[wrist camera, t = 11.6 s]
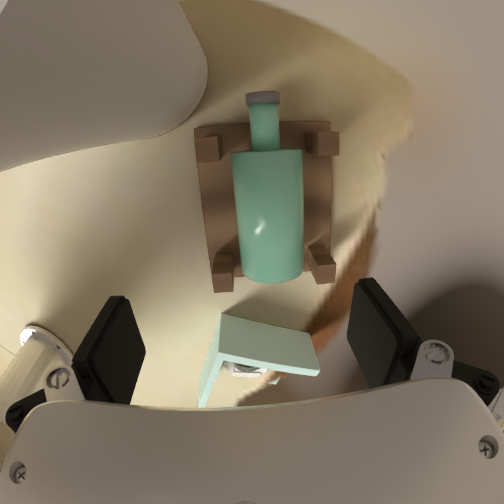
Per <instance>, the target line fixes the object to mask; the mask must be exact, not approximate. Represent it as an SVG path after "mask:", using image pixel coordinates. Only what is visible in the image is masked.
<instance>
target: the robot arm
mask: <svg viewBox="0 0 504 504" xmlns="http://www.w3.org/2000/svg"><path fill="white" fill-rule="evenodd" d="M20 339H21V344H22V347H21V348H20V350H19V351H18V352H17V354H16V355H15V357H14V358H13V360H12V361H11V362H10V364H9V365H8V367H7V368H6V370H5V371H4V373H3V374H2V376H1V377H0V504H504V388H503V389H502V390H501V389H500V384H499V381H498V379H497V378H496V376H495V375H494V374H492V373H491V372H488V371H486V370H483V369H479V368H476V367H473V366H470V365H467V364H464V363H461V362H457V361H454V360H453V359H454V356H453V351H452V349H451V348H450V347H449V346H448V345H447V344H445V343H443V342H441V341H437V340H428V341H425V342H424V343H423V342H422V341H421V339H420V336H419V335H418V334H417V332H416V331H415V330H414V328H413V327H412V326H411V325H410V323H409V322H408V320H407V319H406V318H405V317H404V315H403V314H402V313H401V311H400V310H399V309H398V308H397V306H396V305H395V304H394V303H393V301H392V300H391V299H390V298H389V296H388V295H387V294H386V293H385V292H384V290H383V289H382V288H381V287H380V285H379V284H378V283H377V282H376V280H375V279H374V278H372V277H371V278H363V279H359V281H358V283H355V286H354V292H353V299H352V306H351V312H350V318H349V324H348V330H347V339H348V342H349V344H350V346H351V349H352V350H353V353H354V355H355V357H356V359H357V361H358V363H359V366H360V368H361V370H362V372H363V375H364V377H365V379H366V381H367V383H368V386H369V388H370V389H367V390H362V391H357V392H352V393H348V394H342V395H337V396H331V397H325V398H319V399H313V400H306V401H298V402H290V403H281V404H271V405H261V406H245V407H223V408H175V407H154V406H140V405H130V402H131V399H132V395H133V392H134V389H135V386H136V382H137V379H138V376H139V373H140V370H141V367H142V363H143V360H144V357H145V353H146V350H145V346H144V343H143V340H142V337H141V335H140V332H139V329H138V326H137V323H136V320H135V317H134V314H133V311H132V308H131V305H130V302H129V300H128V299H125V297H124V296H110V297H109V299H108V301H107V302H106V304H105V305H104V307H103V308H102V310H101V311H100V313H99V315H98V316H97V318H96V319H95V321H94V323H93V324H92V326H91V328H90V329H89V331H88V333H87V334H86V336H85V338H84V339H83V341H82V343H81V345H80V346H79V348H78V350H77V352H76V353H75V355H74V357H73V355H72V353H71V352H70V350H69V349H68V348H67V347H66V346H65V345H64V343H63V342H61V341H60V340H59V339H58V338H57V337H56V336H55V335H53V334H52V333H50V332H49V331H47V330H45V329H43V328H41V327H38V326H33V325H32V326H27V327H25V329H24V330H23V331H22V333H21V336H20Z"/></svg>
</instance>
